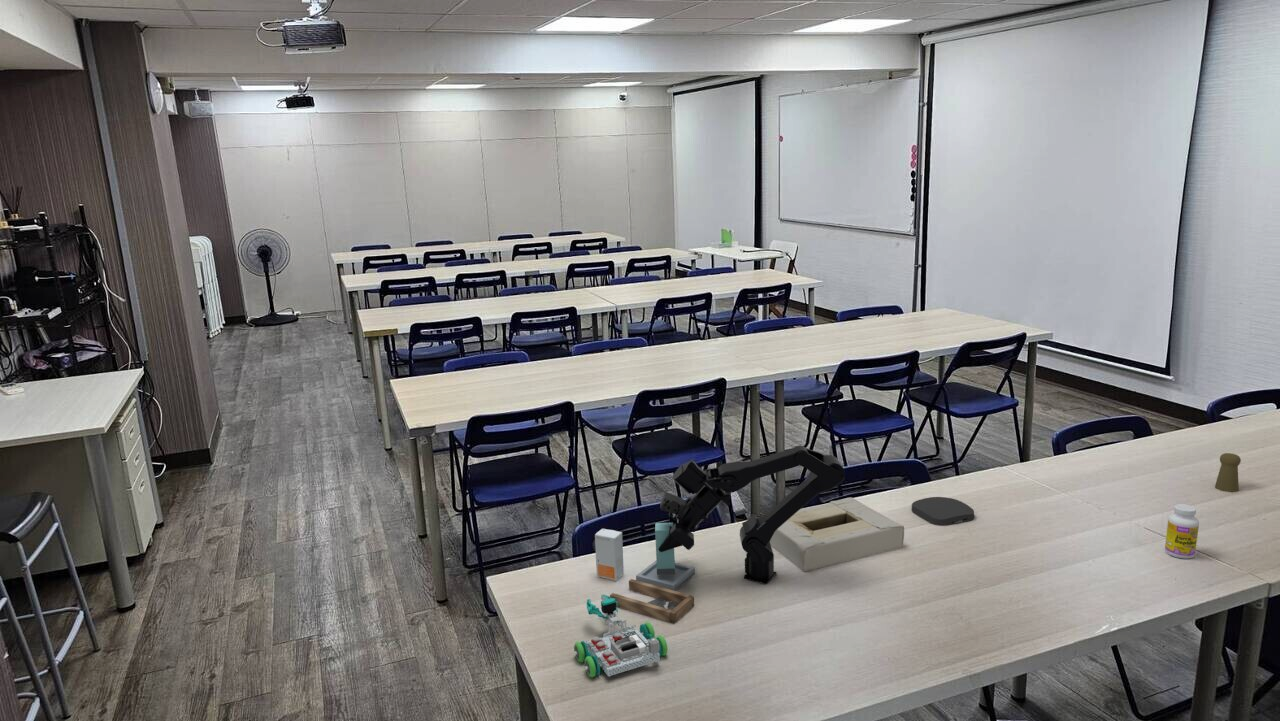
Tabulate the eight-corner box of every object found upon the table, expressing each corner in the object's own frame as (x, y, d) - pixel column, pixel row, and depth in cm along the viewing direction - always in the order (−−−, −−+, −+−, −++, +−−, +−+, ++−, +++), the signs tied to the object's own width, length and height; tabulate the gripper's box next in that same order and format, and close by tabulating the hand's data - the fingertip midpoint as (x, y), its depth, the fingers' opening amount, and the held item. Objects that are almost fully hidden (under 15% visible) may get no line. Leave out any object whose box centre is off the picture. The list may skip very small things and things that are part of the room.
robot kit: (628, 611, 200) (626, 575, 198) (676, 664, 178) (675, 624, 176) (554, 632, 192) (551, 594, 190) (595, 689, 170) (592, 648, 168)
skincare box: (596, 577, 217) (593, 534, 214) (604, 570, 221) (602, 527, 218) (616, 581, 214) (614, 538, 212) (624, 574, 218) (622, 531, 215)
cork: (1218, 491, 255) (1222, 457, 253) (1211, 484, 261) (1215, 450, 258) (1241, 492, 253) (1246, 458, 251) (1234, 485, 259) (1238, 451, 256)
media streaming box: (906, 510, 252) (906, 500, 251) (947, 502, 256) (947, 493, 255) (936, 528, 238) (937, 518, 237) (979, 520, 242) (980, 510, 242)
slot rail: (694, 605, 201) (693, 596, 200) (674, 623, 193) (673, 613, 193) (631, 587, 210) (631, 578, 210) (610, 604, 203) (609, 595, 202)
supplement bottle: (1169, 558, 214) (1174, 511, 211) (1160, 547, 221) (1165, 501, 218) (1199, 560, 213) (1204, 513, 210) (1189, 549, 219) (1194, 503, 216)
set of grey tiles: (688, 607, 200) (688, 603, 200) (673, 620, 194) (673, 616, 194) (656, 598, 205) (656, 595, 204) (641, 611, 199) (641, 607, 199)
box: (804, 575, 215) (904, 548, 227) (804, 547, 213) (905, 522, 225) (757, 541, 236) (852, 519, 248) (757, 516, 234) (852, 494, 246)
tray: (695, 574, 216) (695, 567, 216) (673, 593, 207) (673, 585, 207) (659, 565, 222) (658, 558, 222) (636, 582, 213) (635, 575, 213)
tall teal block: (675, 565, 216) (673, 522, 213) (675, 574, 212) (673, 530, 209) (657, 566, 216) (655, 523, 214) (656, 574, 212) (654, 530, 209)
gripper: (678, 470, 218) (637, 511, 221) (678, 498, 200) (634, 542, 203) (709, 498, 219) (668, 538, 222) (712, 527, 201) (668, 571, 204)
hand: (659, 546), depth 213 cm, fingers closed on tall teal block, 4 cm apart
